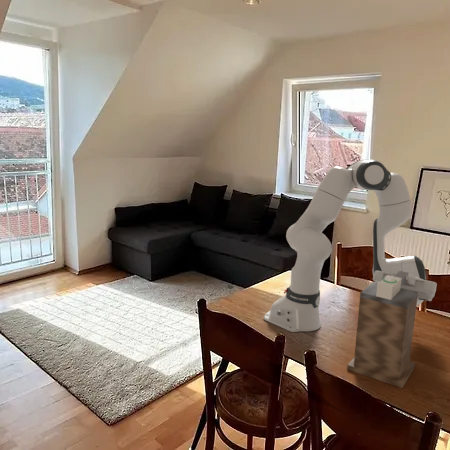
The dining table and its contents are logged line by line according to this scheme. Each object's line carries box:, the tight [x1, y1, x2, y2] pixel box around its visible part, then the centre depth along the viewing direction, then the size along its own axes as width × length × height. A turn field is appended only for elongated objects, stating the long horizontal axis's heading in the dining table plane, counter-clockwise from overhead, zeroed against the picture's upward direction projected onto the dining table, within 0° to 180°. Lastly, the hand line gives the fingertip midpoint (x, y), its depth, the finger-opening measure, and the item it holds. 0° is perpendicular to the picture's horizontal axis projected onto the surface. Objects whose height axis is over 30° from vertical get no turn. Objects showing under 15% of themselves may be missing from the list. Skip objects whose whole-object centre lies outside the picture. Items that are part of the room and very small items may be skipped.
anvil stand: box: [346, 281, 418, 389], centre depth 136 cm, size 17×15×26 cm
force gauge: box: [376, 271, 409, 300], centre depth 137 cm, size 4×22×4 cm, turn 144°
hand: (400, 277), depth 142 cm, fingers closed on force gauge, 3 cm apart
